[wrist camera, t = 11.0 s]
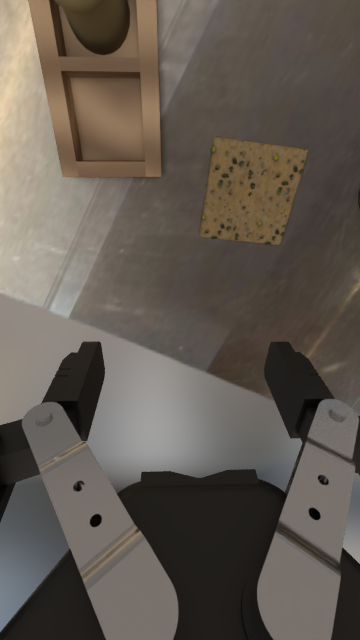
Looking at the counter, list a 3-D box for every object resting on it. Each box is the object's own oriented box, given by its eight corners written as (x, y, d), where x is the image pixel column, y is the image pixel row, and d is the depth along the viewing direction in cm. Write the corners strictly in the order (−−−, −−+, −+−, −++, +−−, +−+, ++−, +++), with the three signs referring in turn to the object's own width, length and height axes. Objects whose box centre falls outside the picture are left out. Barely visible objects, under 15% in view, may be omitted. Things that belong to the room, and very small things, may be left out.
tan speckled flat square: (308, 147, 34) (312, 147, 33) (279, 245, 40) (281, 247, 40) (213, 134, 33) (214, 133, 32) (198, 236, 39) (198, 238, 38)
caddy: (27, -74, 24) (7, -105, 21) (154, -69, 24) (153, -99, 22) (71, 174, 34) (62, 177, 31) (161, 174, 35) (161, 176, 32)
